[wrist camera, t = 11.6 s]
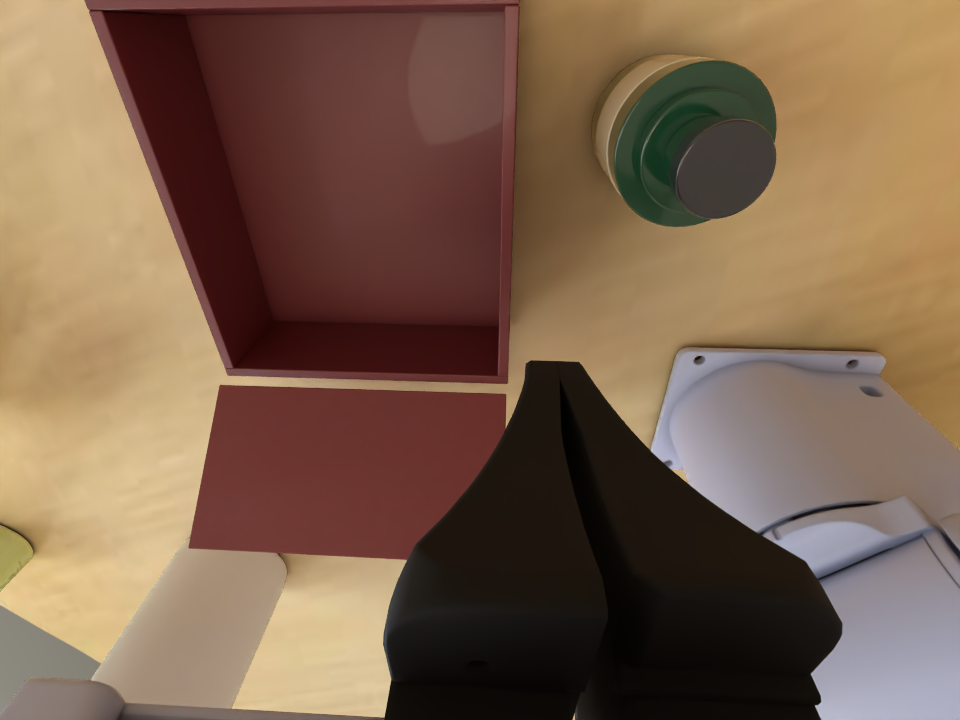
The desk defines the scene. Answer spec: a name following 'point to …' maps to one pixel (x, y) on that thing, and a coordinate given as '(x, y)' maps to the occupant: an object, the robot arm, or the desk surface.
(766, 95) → the bottle
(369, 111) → the carton
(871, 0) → the desk surface
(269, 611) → the pill bottle
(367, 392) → the flap
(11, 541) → the tube
